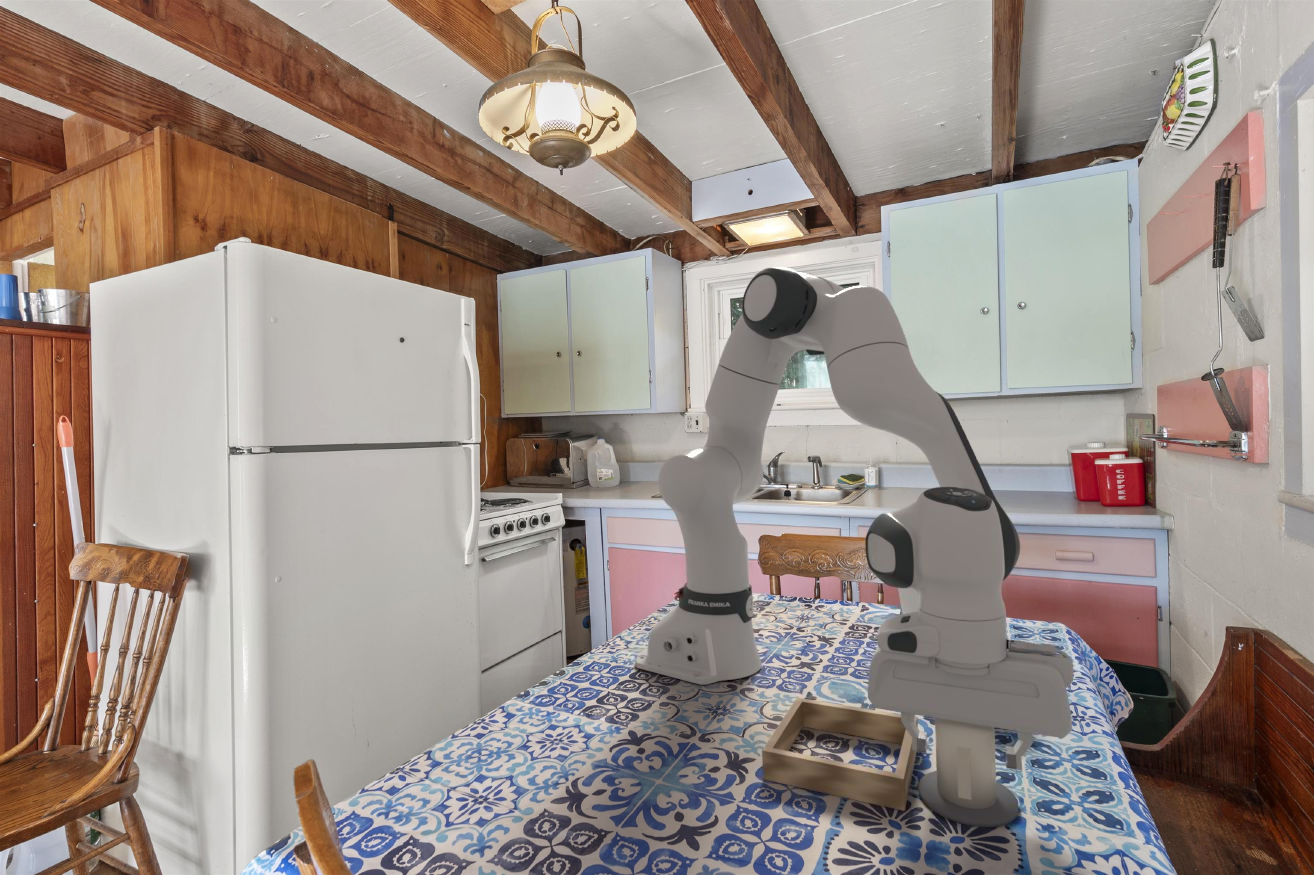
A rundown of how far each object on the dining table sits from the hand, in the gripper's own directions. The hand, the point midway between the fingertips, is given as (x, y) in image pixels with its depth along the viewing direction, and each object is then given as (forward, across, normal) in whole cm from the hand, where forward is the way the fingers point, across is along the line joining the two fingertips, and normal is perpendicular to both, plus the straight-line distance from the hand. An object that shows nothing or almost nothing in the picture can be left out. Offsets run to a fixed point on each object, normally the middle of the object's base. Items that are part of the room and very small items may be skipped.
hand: (965, 758), depth 71 cm
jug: (+4, 0, +1) cm, 4 cm away
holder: (+5, +14, -3) cm, 15 cm away
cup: (+5, +8, -53) cm, 54 cm away
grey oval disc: (+5, 0, 0) cm, 5 cm away
